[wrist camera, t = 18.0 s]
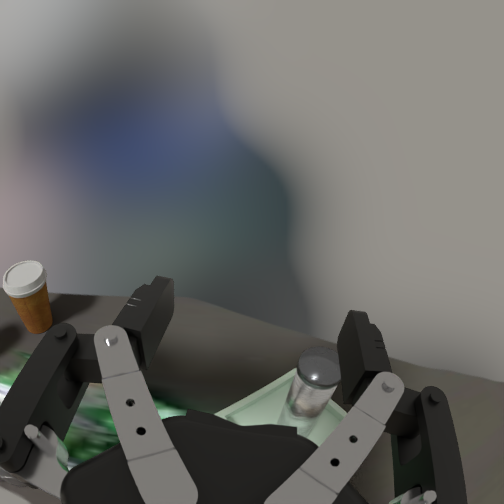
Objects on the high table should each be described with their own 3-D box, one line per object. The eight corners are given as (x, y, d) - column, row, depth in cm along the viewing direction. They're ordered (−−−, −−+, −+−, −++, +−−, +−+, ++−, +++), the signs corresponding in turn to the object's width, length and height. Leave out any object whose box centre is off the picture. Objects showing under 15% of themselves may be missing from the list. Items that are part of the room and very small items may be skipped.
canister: (291, 452, 34) (325, 391, 26) (266, 428, 37) (289, 360, 30) (316, 431, 37) (354, 365, 29) (292, 410, 41) (320, 340, 33)
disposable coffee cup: (32, 304, 51) (18, 256, 45) (66, 312, 52) (53, 262, 46) (12, 333, 42) (-8, 284, 37) (48, 344, 43) (28, 293, 37)
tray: (285, 500, 28) (290, 496, 27) (213, 421, 38) (214, 414, 37) (360, 436, 38) (366, 429, 36) (292, 376, 48) (295, 367, 47)
